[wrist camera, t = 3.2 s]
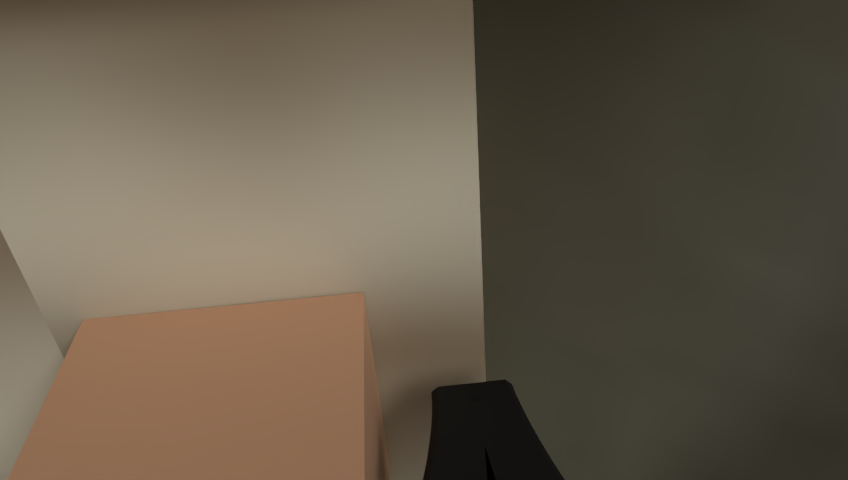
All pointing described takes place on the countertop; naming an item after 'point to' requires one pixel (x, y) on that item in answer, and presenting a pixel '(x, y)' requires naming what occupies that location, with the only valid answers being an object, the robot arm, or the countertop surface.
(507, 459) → the robot arm
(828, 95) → the countertop surface
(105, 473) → the block
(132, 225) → the mottled shallow tray
